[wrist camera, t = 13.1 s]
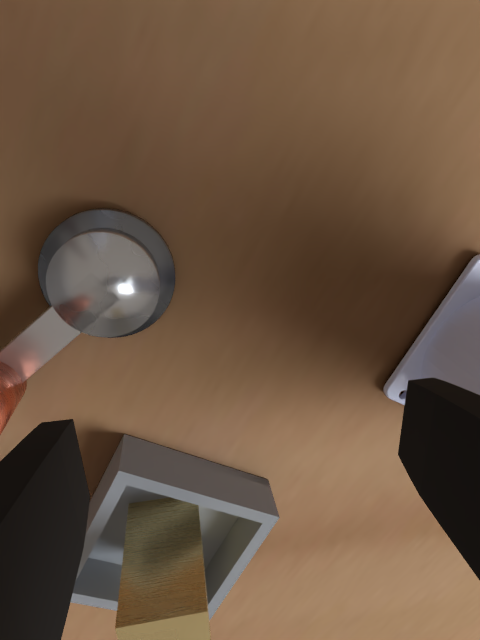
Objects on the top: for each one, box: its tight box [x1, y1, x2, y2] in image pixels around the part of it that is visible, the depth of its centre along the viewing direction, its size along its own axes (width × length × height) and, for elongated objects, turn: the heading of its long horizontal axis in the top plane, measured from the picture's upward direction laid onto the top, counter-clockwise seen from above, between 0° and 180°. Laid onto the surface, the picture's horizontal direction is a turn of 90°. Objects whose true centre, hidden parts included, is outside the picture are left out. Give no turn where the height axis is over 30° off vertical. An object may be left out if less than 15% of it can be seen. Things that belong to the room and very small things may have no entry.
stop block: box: [115, 497, 211, 640], centre depth 19 cm, size 3×3×6 cm
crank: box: [0, 228, 160, 435], centre depth 15 cm, size 9×4×4 cm, turn 129°
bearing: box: [38, 208, 175, 338], centre depth 17 cm, size 5×5×1 cm
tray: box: [70, 434, 279, 620], centre depth 21 cm, size 8×8×2 cm
